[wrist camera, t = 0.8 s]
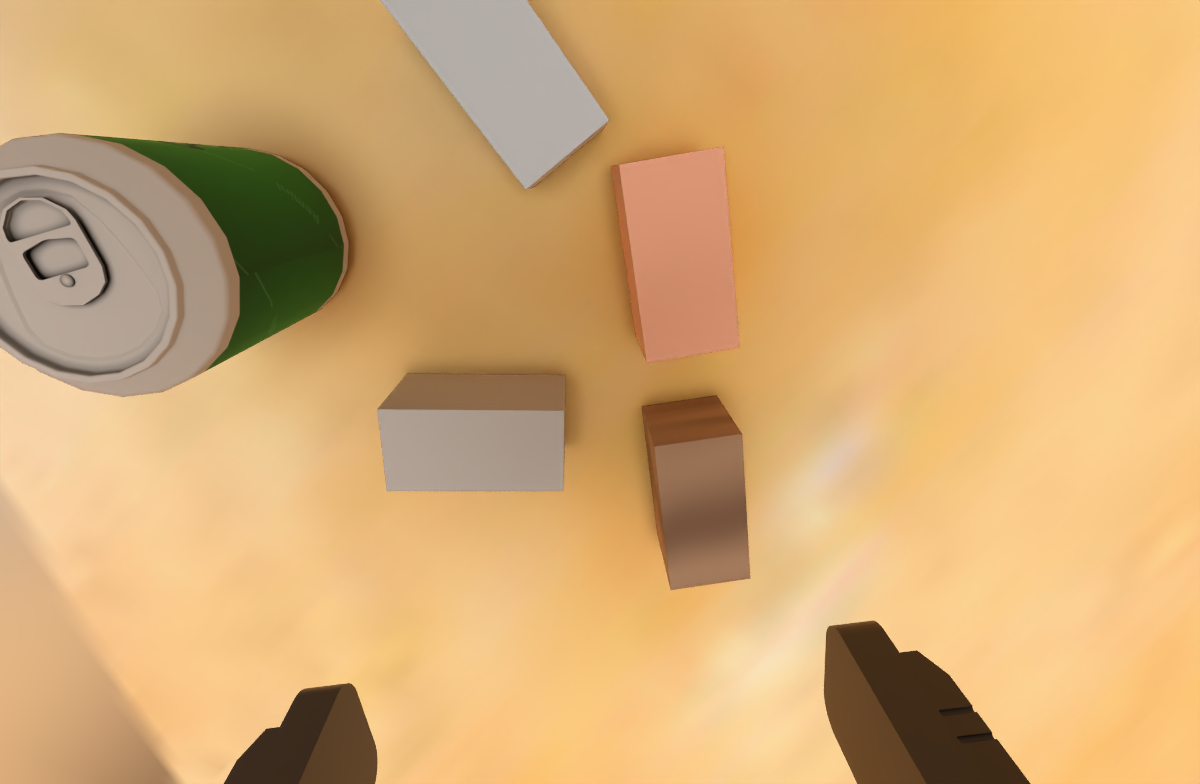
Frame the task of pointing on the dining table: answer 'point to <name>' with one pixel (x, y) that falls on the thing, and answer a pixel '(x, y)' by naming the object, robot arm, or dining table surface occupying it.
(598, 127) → the blue-grey brick
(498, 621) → the dining table surface
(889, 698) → the robot arm
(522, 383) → the slate brick
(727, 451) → the walnut brick
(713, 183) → the terracotta brick
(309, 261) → the soda can
